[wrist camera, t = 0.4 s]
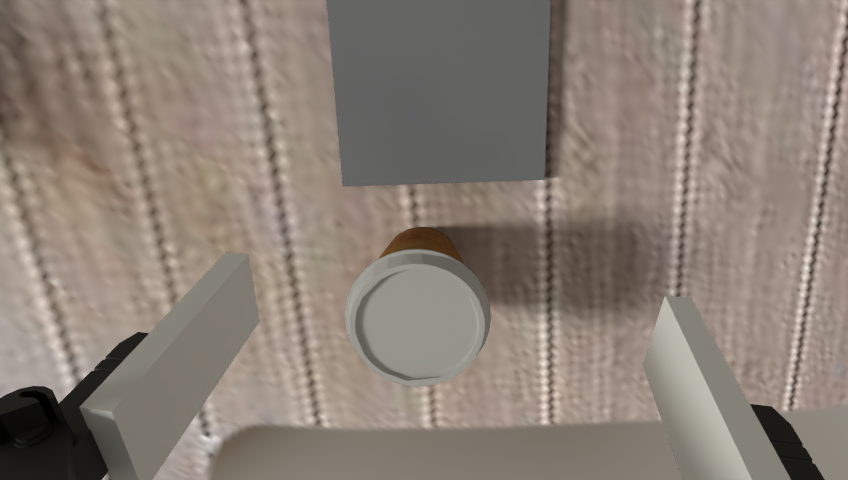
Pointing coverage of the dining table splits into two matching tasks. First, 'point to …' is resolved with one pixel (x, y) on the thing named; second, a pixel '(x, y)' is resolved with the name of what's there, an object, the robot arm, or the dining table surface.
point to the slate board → (440, 89)
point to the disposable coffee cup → (418, 311)
